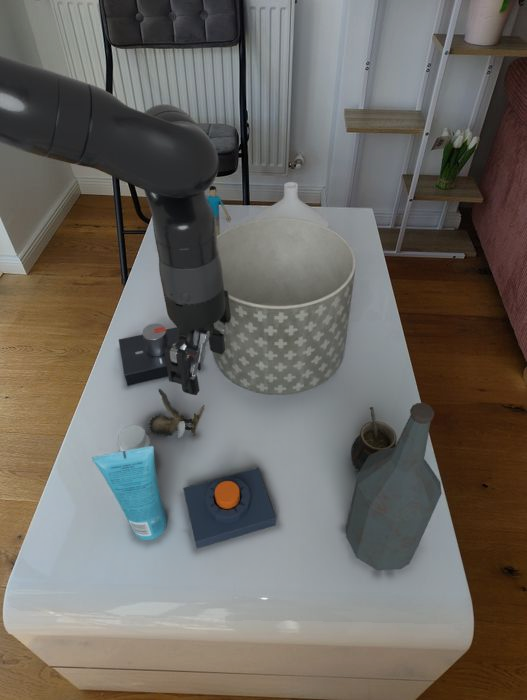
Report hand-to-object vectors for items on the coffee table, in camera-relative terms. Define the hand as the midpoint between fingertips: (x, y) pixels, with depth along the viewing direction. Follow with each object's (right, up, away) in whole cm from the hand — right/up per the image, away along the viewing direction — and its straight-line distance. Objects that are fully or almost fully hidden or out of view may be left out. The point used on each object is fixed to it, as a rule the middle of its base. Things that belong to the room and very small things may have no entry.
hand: (205, 371), depth 75 cm
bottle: (+26, -24, 0) cm, 35 cm away
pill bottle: (-11, -16, +10) cm, 22 cm away
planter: (+11, +1, +26) cm, 28 cm away
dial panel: (-12, +1, +26) cm, 29 cm away
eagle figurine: (-7, -10, +15) cm, 19 cm away
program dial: (-12, +3, +24) cm, 27 cm away
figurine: (-3, +30, +56) cm, 63 cm away
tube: (-9, -23, +2) cm, 25 cm away
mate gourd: (+26, -16, +9) cm, 32 cm away
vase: (+15, +25, +50) cm, 57 cm away
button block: (+3, -21, +4) cm, 22 cm away
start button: (+3, -19, +1) cm, 19 cm away
